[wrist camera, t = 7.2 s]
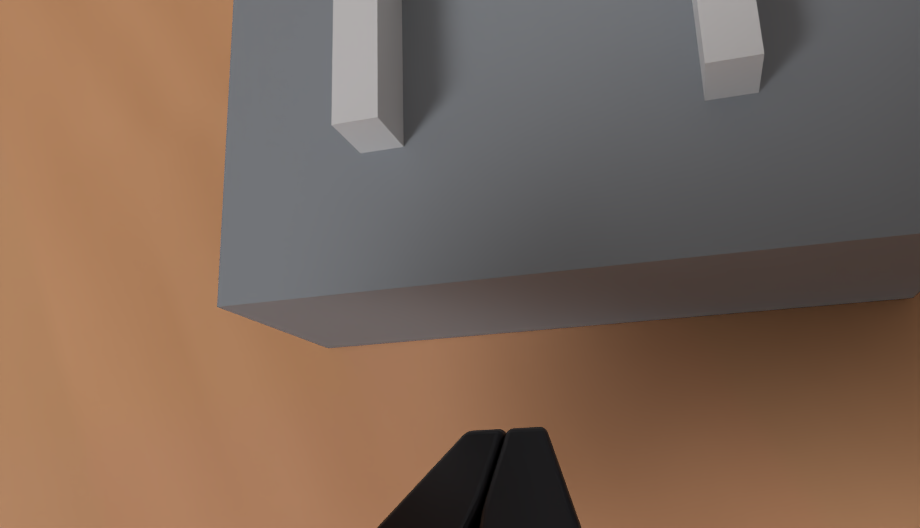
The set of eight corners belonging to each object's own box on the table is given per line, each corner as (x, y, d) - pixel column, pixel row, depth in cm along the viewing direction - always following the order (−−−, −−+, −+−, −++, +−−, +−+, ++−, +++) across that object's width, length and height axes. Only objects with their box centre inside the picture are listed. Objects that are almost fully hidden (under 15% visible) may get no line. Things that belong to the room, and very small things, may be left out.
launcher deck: (912, 297, 15) (1024, 196, 10) (328, 347, 18) (175, 291, 13) (843, -63, 17) (904, -304, 12) (332, 37, 20) (204, -120, 15)
